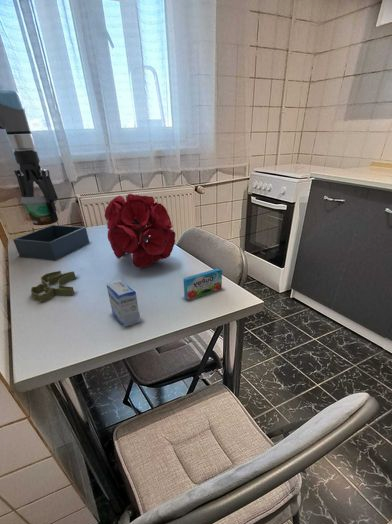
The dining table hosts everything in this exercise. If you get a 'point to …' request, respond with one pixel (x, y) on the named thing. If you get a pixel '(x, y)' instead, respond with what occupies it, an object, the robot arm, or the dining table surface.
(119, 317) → the medicine box
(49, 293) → the cookie cutter
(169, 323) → the dining table surface
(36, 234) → the tote
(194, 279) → the light blue food packet
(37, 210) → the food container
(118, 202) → the bouquet
